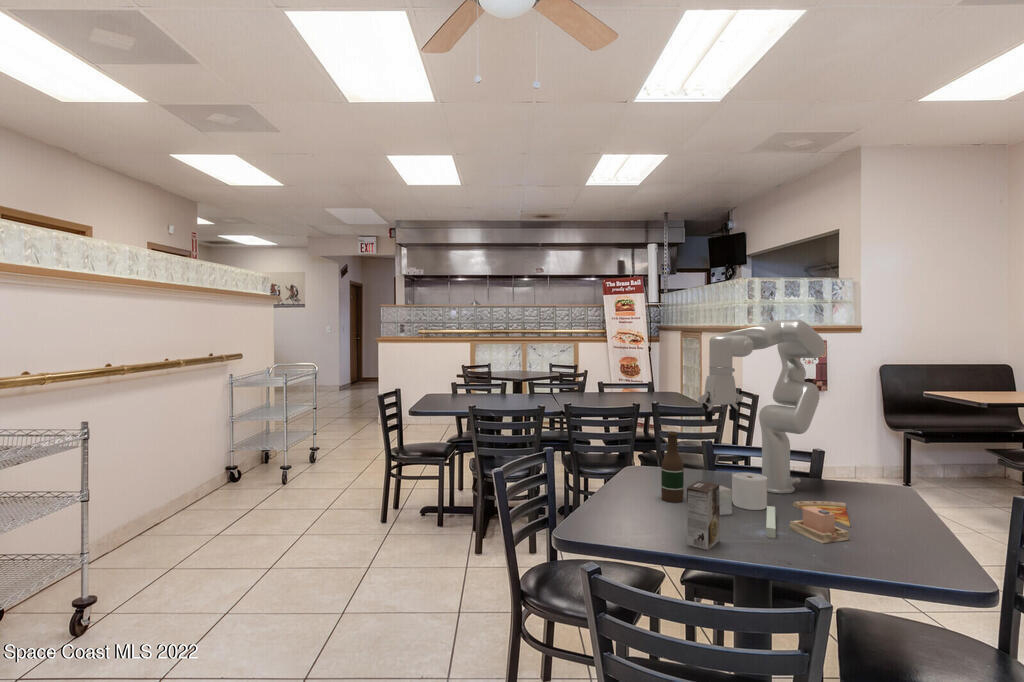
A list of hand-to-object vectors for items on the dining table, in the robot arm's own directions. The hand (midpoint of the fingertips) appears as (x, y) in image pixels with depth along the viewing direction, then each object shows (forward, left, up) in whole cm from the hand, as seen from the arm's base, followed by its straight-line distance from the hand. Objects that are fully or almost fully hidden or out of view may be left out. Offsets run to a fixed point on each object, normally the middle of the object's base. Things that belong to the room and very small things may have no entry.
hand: (720, 421), depth 192 cm
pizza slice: (-24, +19, -29) cm, 42 cm away
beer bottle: (+14, -8, -28) cm, 33 cm away
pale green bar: (0, +24, -28) cm, 37 cm away
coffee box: (+28, +30, -28) cm, 50 cm away
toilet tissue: (-7, +5, -28) cm, 30 cm away
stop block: (-8, +34, -28) cm, 44 cm away
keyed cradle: (-8, +34, -28) cm, 45 cm away
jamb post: (+7, +9, -28) cm, 31 cm away
